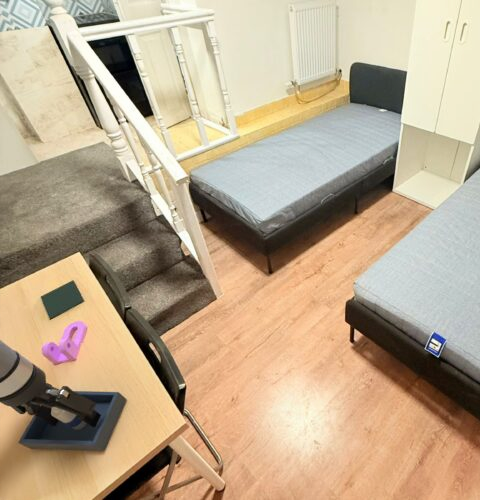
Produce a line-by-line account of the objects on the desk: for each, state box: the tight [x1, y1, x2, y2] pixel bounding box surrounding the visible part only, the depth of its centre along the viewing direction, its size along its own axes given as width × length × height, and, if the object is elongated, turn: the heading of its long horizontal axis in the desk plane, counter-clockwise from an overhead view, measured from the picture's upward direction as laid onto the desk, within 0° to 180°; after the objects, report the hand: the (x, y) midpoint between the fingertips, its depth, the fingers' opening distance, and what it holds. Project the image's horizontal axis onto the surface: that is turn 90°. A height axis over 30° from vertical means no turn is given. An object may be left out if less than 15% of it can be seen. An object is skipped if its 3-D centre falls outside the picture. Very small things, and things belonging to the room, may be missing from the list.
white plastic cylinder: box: [51, 407, 87, 430], centre depth 77 cm, size 3×3×10 cm
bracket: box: [41, 320, 88, 365], centre depth 95 cm, size 13×6×7 cm, turn 13°
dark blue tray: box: [17, 390, 127, 452], centre depth 79 cm, size 18×12×5 cm, turn 88°
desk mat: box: [40, 279, 85, 321], centre depth 108 cm, size 12×10×1 cm
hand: (77, 420), depth 80 cm, fingers open, 9 cm apart
